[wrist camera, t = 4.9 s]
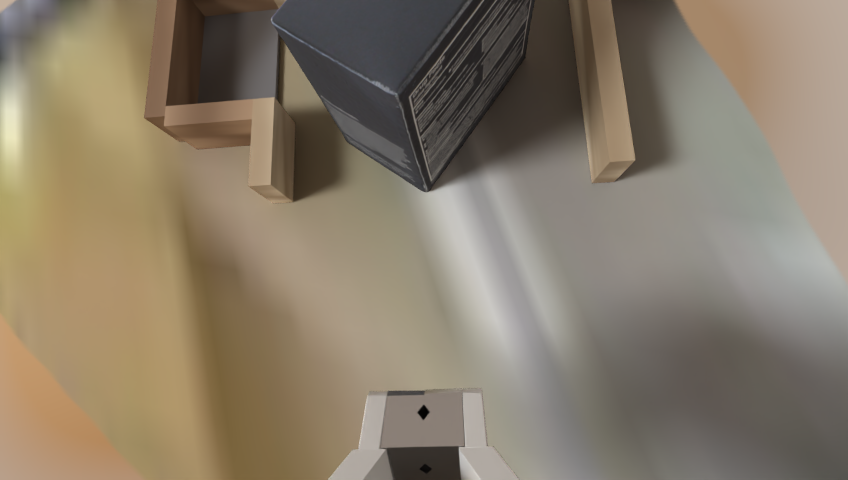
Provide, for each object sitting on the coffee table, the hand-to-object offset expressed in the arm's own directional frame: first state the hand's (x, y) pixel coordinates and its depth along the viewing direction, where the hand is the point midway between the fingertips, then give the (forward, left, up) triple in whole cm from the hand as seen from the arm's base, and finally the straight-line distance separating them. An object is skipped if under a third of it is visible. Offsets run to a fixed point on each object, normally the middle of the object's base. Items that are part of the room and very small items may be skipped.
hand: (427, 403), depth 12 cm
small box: (0, -16, -11) cm, 19 cm away
